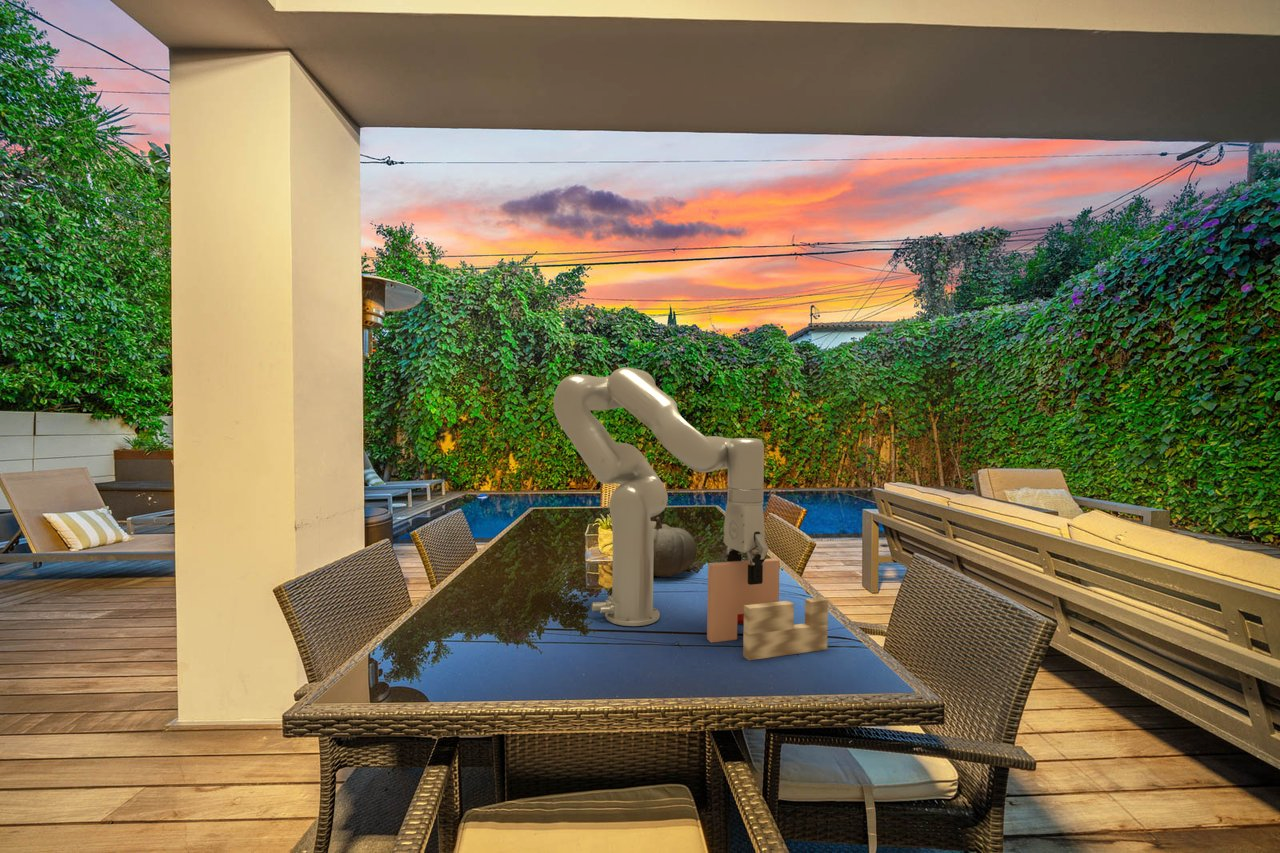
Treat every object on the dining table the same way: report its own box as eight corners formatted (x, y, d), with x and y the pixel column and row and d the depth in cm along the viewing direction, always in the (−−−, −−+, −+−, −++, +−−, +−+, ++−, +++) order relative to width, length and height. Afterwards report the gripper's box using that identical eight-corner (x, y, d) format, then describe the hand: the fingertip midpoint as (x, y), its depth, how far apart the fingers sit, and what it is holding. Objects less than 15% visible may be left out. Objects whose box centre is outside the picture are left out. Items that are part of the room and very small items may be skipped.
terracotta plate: (778, 634, 123) (779, 560, 123) (711, 642, 118) (712, 565, 118) (773, 630, 125) (774, 558, 125) (707, 639, 120) (708, 563, 120)
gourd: (602, 571, 162) (611, 510, 164) (619, 564, 186) (627, 511, 188) (689, 586, 157) (698, 523, 159) (695, 577, 181) (702, 522, 184)
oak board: (748, 660, 110) (749, 608, 110) (743, 656, 112) (743, 605, 111) (827, 649, 116) (827, 600, 115) (821, 645, 117) (821, 597, 117)
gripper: (711, 491, 128) (710, 569, 129) (750, 502, 112) (749, 591, 112) (741, 490, 131) (740, 566, 131) (783, 501, 114) (782, 588, 115)
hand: (744, 577), depth 122 cm, fingers open, 8 cm apart
